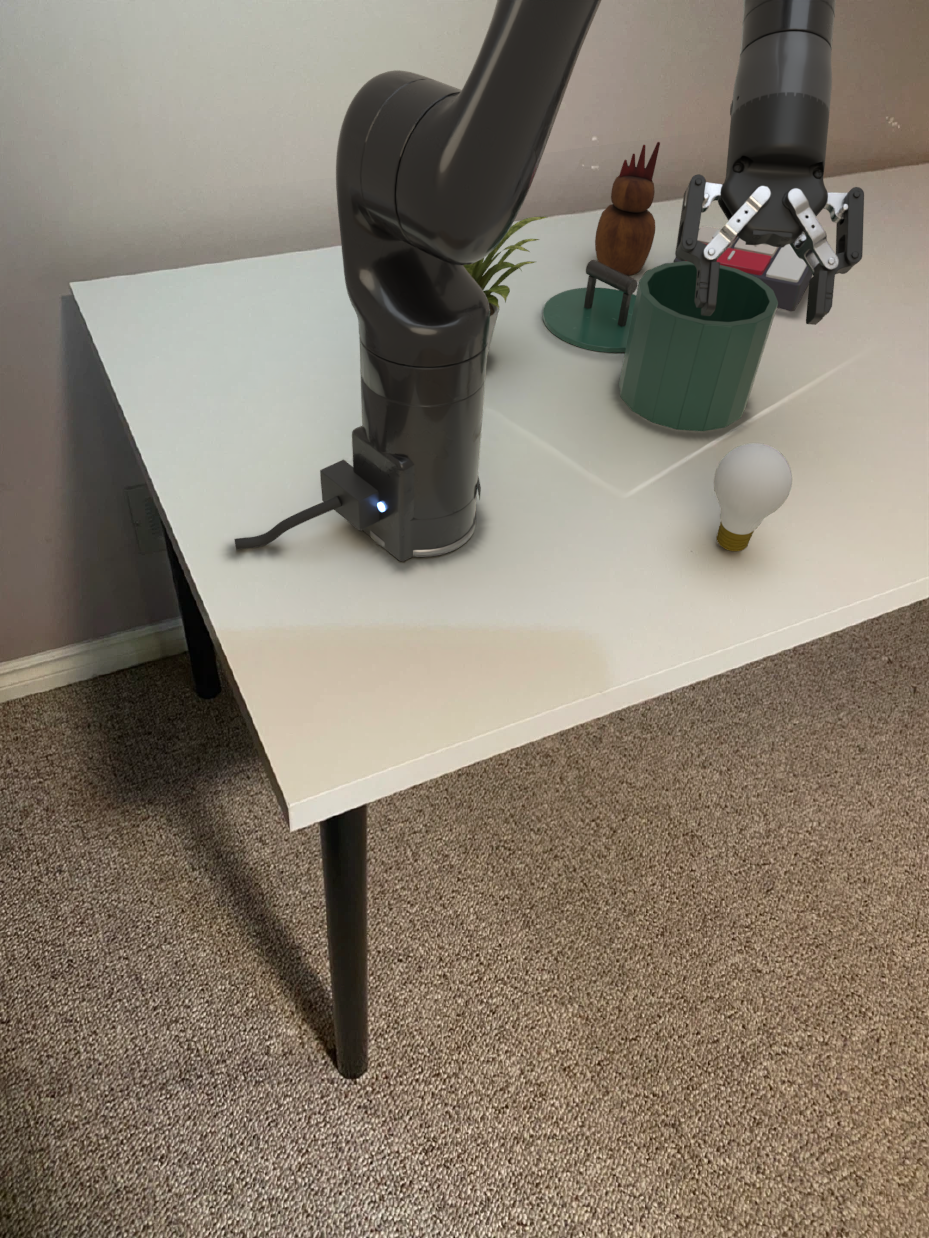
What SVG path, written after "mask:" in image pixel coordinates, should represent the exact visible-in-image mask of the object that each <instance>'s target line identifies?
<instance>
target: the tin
mask: <svg viewBox="0 0 929 1238" xmlns="http://www.w3.org/2000/svg"><path fill="white" fill-rule="evenodd" d="M696 278H697V269H696V267H695V265H694V264H693V263H691V262H689V261H682V262H665V263H662V264H659V265H657V266H655V267H652V268H650V269H647V270H646V271H645V273H644V274H643V276H642V277H640V279H639V281H638V283H637V288H636V294H635V295H636V299H635V304H634V309H633V314H632V320H631V325H630V330H629V335H628V340H627V345H626V351H625V352H624V356H623V361H622V367H621V372H620V375H619V376H620V377H619V381H618V387H619V394H620V398H621V400H622V401H623V402H624V403H625V404H626V406H627V407H628V408H629V410H631V411H632V412H633V413H634V414H637V415H638V416H640V417H641V418H644V419H645V420H647V421H648V422H650V423H653V424H656V425H660V426H663V427H666V428H670V429H673V430H678V431H689V432H690V431H691V432H707V431H708V432H709V431H713V430H718V429H724V428H727V427H728V426H730V425H732V424H733V423H735V422H737V421H739V420H740V419H741V418H742V416H743V415H744V412H745V410H746V408H747V405H748V402H749V399H750V396H751V393H752V390H753V386H754V384H755V380H756V377H757V373H758V370H759V367H760V363H761V360H762V358H763V354H764V351H765V348H766V344H767V342H768V339H769V338H768V337H769V334H770V331H771V328H772V325H773V322H774V319H775V316H776V312H777V309H778V308H777V306H778V301H777V299H776V296H775V294H774V291H773V290H772V289H771V288H770V287H769V286H767V285H766V284H765V283H764V282H762V281H761V280H760V279H759V278H757V277H754V276H752V275H750V274H748V273H745V272H743V271H741V270H739V269H736V268H732V267H727V266H723V265H720V269H719V280H718V292H717V303H716V308H715V311H714V312H713V313H712V315H711V316H703V315H701V308H696V305H695V290H696Z"/></svg>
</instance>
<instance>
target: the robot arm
mask: <svg viewBox="0 0 929 1238" xmlns="http://www.w3.org/2000/svg"><path fill="white" fill-rule="evenodd" d="M601 2H602V0H496V3H495V7H494V10H493V14H492V17H491V20H490V23H489V26H488V29H487V31H486V34H485V37H484V39H483V41H482V44H481V47H480V50H479V52H478V55H477V57H476V59H475V62H474V64H473V66H472V68H471V71H470V73H469V75H468V77H467V79H466V80H465V83H464V85H463V87H462V88H461V89H460V88H458V87H455V86H452V85H450V84H447V83H444V82H441V81H439V80H436V79H433V78H431V77H428V76H426V75H422V74H419V73H415V72H412V71H408V70H398V69H397V70H395V69H394V70H389V71H384V72H381V73H379V74H377V75H375V76H373V77H372V78H371V79H369V80H368V81H366V83H364V84H363V85H362V86H361V87H360V89H359V90H358V91H357V92H356V94H355V95H354V97H353V98H352V100H351V101H350V104H349V105H348V108H347V109H346V111H345V115H344V117H343V120H342V123H341V127H340V130H339V135H338V141H337V147H336V156H335V157H336V159H335V189H336V191H335V192H336V203H337V213H338V214H337V215H338V225H339V234H340V235H339V236H340V246H341V256H342V265H343V266H342V267H343V277H344V283H345V289H346V293H347V296H348V299H349V301H350V303H351V306H352V308H353V310H354V312H355V314H356V317H357V322H358V323H357V324H358V336H359V337H358V339H359V341H358V342H359V363H360V364H359V365H360V368H359V369H360V370H359V371H360V403H361V405H360V406H361V407H360V408H361V425H360V426H358V427H356V428H354V429H353V430H352V431H351V450H352V453H351V454H352V465H351V464H350V463H349V462H347V461H346V460H345V459H341V460H339V461H337V462H335V463H333V464H330V465H329V466H326V467H324V468H322V469H320V470H319V475H320V477H319V478H320V488H321V500H322V502H320V503H318V504H315V505H313V506H310V507H308V508H306V509H303V510H301V511H299V512H297V513H295V514H293V515H291V516H289V517H287V518H284V519H283V520H281V521H280V522H279V523H277V524H276V525H274V526H273V527H272V528H271V529H269V530H268V531H266V532H265V533H262V534H259V535H255V536H248V537H237V538H234V545H235V550H244V549H253V548H255V549H256V548H259V547H263V546H266V545H268V544H270V543H272V542H274V541H275V540H277V539H278V538H279V537H280V536H282V535H283V534H285V533H286V532H287V531H289V530H291V529H293V528H295V527H297V526H299V525H301V524H303V523H306V522H307V521H310V520H312V519H314V518H317V517H319V516H321V515H324V514H326V513H327V514H328V513H329V512H331V511H334V512H336V513H337V514H338V515H339V516H341V517H342V519H344V520H345V521H346V522H348V523H349V524H350V525H351V526H353V528H355V529H356V530H358V531H359V532H361V531H362V532H364V534H366V535H367V536H369V537H370V538H371V540H373V541H374V543H376V544H377V545H379V546H380V547H382V548H383V549H384V550H386V551H387V553H389V554H390V555H392V556H393V557H394V558H395V559H396V560H398V561H399V562H405V561H407V560H409V559H411V558H416V557H417V558H429V557H437V556H441V555H446V554H448V553H450V552H453V551H455V550H457V549H458V548H460V547H462V546H463V545H464V544H466V543H467V542H468V541H469V540H470V538H471V537H472V536H473V534H474V532H475V531H476V530H475V529H476V525H477V511H476V509H477V507H476V506H477V497H478V500H479V501H481V491H482V487H481V482H480V476H479V466H480V454H481V440H482V430H483V429H482V426H483V415H484V414H483V413H484V402H485V399H484V398H485V388H486V387H485V386H486V376H487V375H486V374H487V362H488V356H487V351H488V338H489V325H490V308H489V303H488V299H487V297H486V295H485V293H484V292H483V291H484V290H482V288H481V287H480V286H479V285H478V283H477V282H476V281H475V280H474V279H473V277H472V276H471V275H470V274H469V273H468V271H467V270H466V269H465V267H464V266H463V265H470V264H472V263H475V262H477V261H479V260H481V259H483V258H484V259H485V258H486V257H487V256H488V254H489V253H490V252H491V251H493V250H494V249H495V248H496V247H497V245H498V244H499V243H500V242H501V240H502V239H503V238H504V236H505V235H506V234H507V232H508V231H509V229H510V228H511V226H513V225H514V223H515V220H516V219H517V216H518V215H519V213H520V211H521V210H522V207H523V205H524V202H525V200H526V198H527V196H528V194H529V192H530V189H531V187H532V185H533V182H534V179H535V176H536V173H537V171H538V169H539V166H540V164H541V161H542V159H543V155H544V152H545V149H546V147H547V143H548V142H549V138H550V135H551V133H552V130H553V127H554V124H555V122H556V120H557V116H558V114H559V111H560V107H561V105H562V103H563V99H564V97H565V95H566V91H567V88H568V85H569V83H570V80H571V78H572V74H573V72H574V69H575V66H576V63H577V61H578V58H579V55H580V53H581V50H582V48H583V46H584V43H585V40H586V38H587V35H588V33H589V30H590V28H591V26H592V23H593V21H594V18H595V16H596V14H597V11H598V9H599V7H600V5H601ZM836 4H837V0H742V22H741V23H742V24H741V34H740V35H741V37H740V47H739V59H738V66H737V71H736V75H735V79H734V84H733V90H732V91H733V92H732V100H731V103H730V108H729V116H730V123H729V134H728V146H727V147H728V148H727V157H726V169H725V170H726V171H725V179H724V182H723V184H722V183H718V182H717V183H716V182H709V181H707V179H706V178H705V176H704V175H703V174H701V173H700V174H694V175H693V176H692V177H691V179H690V180H689V183H688V185H687V187H686V189H685V191H684V193H683V199H682V205H681V206H682V207H681V213H680V218H679V226H678V231H677V238H676V240H677V241H676V246H675V253H674V255H675V258H677V259H678V260H680V261H685V260H686V261H689V262H691V263H693V264H694V265H695V267H696V269H697V278H696V290H695V305H696V308H701V315H703V316H711V315H712V313H713V312H714V311H715V308H716V303H717V292H718V280H719V269H720V262H717V259H718V258H719V257H720V256H721V255H722V254H723V253H724V252H725V251H726V250H727V249H728V247H729V246H730V245H731V244H732V243H733V242H734V241H735V240H736V239H737V237H739V238H740V239H741V240H743V241H745V242H746V244H745V245H759V244H768V245H770V246H773V247H783V248H784V247H785V245H788V244H790V245H791V247H792V249H793V250H794V252H795V253H796V255H797V256H798V257H799V258H800V259H803V260H804V262H805V263H806V265H807V267H808V268H809V270H810V271H811V273H812V274H813V275H812V278H811V279H810V280H809V284H808V292H807V304H806V313H805V324H806V325H812V326H816V325H817V324H818V323H820V322H821V321H822V320H823V319H824V317H826V316H827V315H828V314H829V313H830V311H831V309H832V308H833V300H834V289H835V280H836V279H835V278H836V275H839V274H841V275H845V274H847V273H848V272H849V271H851V269H852V268H854V266H855V265H857V264H858V263H859V262H861V260H862V258H863V250H864V249H863V248H864V247H863V245H864V218H865V217H864V216H865V215H864V214H865V213H864V211H865V191H864V190H863V189H862V188H861V187H859V186H853V187H852V188H850V190H849V191H848V192H835V191H833V192H832V191H831V192H829V191H828V190H827V188H826V184H825V181H824V175H825V168H826V157H827V156H826V155H827V146H828V145H827V143H828V133H829V123H830V113H831V112H830V111H831V99H832V89H833V69H832V67H833V66H832V50H833V42H834V41H833V39H834V29H835V17H836ZM714 201H717V204H718V206H719V208H720V209H721V211H722V213H723V215H724V216H725V218H726V220H727V222H726V223H725V224H724V225H723V226H722V228H720V229H721V230H720V232H719V233H718V234H717V235H716V236H715V237H714V238H713V239H712V240H711V242H710V243H709V244H708V245H706V244H704V243H702V242H700V241H698V240H697V239H698V232H699V229H700V227H701V226H700V225H701V218H702V213H705V212H707V211H708V209H709V208H710V206H711V204H712V203H713V202H714ZM823 210H826V211H827V212H828V213H829V216H830V217H829V218H830V220H831V222H832V223H835V224H836V228H835V231H836V232H835V251H834V249H833V247H832V246H831V244H830V242H829V240H828V237H827V236H828V235H827V232H826V230H825V228H824V227H823V225H822V223H821V222H820V220H819V219H818V217H817V216H818V215H819V214H820V213H821V212H822V211H823Z"/></svg>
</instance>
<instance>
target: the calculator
mask: <svg viewBox="0 0 929 1238" xmlns="http://www.w3.org/2000/svg"><path fill="white" fill-rule="evenodd" d="M721 229H722V228H719V227H714V226H710V225H709V226H708V225H702V226H700V227H699V232H698V239H697V240H698V241H700V242H702V243H704V244H706V245H708V244H709V243H710V242H711V240H712V239H713V238H714V237H715V236H716V235H717V234H718V233H719V232H720V230H721ZM745 244H746V242H745V241H743V240H741V239H740V238H739V237H737V239H736V240H735V241H734V242H733V243H732V244H731V245H730V246H729V247H728V249H727V250H726V251H725V252H724V253H723V254H722V255H721V256H720V257H719V258H718V259H717V262H720V265H723V266H727V267H732V268H736V269H739V270H741V271H743V272H745V273H748V274H750V275H752V276H754V277H757V278H759V279H760V280H761V281H762V282H764V283H765V284H766V285H767V286H769V287H770V288H771V289H772V290H773V291H774V294H775V296H776V299H777V301H778V306H777V309H780V310H785V311H788V312H795V310H796V308H797V307H798V305H799V303H800V301H801V300H802V298H803V296H804V295H805V292H806V290H807V288H808V287H809V280H810V279H811V278H812V277H813V274H812V273H811V271H810V270H809V268H808V267H807V265H806V263H805V262H804V260H803V259H800V258H799V257H798V256H797V255H796V253H795V252H794V250H793V249H792V247H791V245H790V244H788V245H785V247H784V248H783V247H773V246H770V245H768V244H759V245H745ZM685 261H686V260H685ZM673 262H682V261H680V260H678V259H677V258H676V257H675V258H674V259H673ZM673 262H672V263H673Z"/></svg>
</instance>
